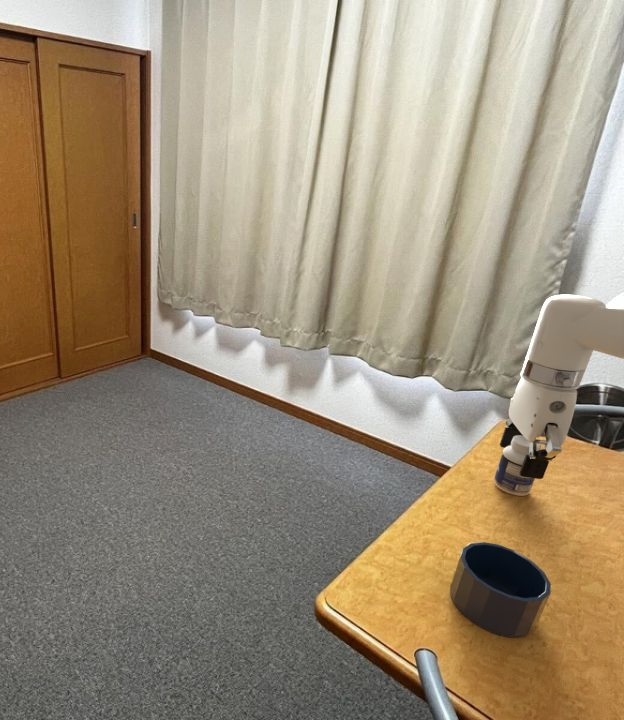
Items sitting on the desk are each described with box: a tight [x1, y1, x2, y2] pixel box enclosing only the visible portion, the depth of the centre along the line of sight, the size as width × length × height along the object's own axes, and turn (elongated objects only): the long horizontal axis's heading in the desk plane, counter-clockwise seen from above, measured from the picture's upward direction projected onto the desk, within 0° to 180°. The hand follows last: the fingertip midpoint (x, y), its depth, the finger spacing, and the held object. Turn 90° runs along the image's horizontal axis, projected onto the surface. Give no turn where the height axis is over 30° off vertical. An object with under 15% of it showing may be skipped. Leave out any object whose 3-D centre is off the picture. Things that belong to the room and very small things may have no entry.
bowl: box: [449, 541, 552, 639], centre depth 62 cm, size 9×9×6 cm
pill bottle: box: [493, 435, 542, 497], centre depth 84 cm, size 5×5×10 cm
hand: (519, 461), depth 83 cm, fingers open, 8 cm apart
